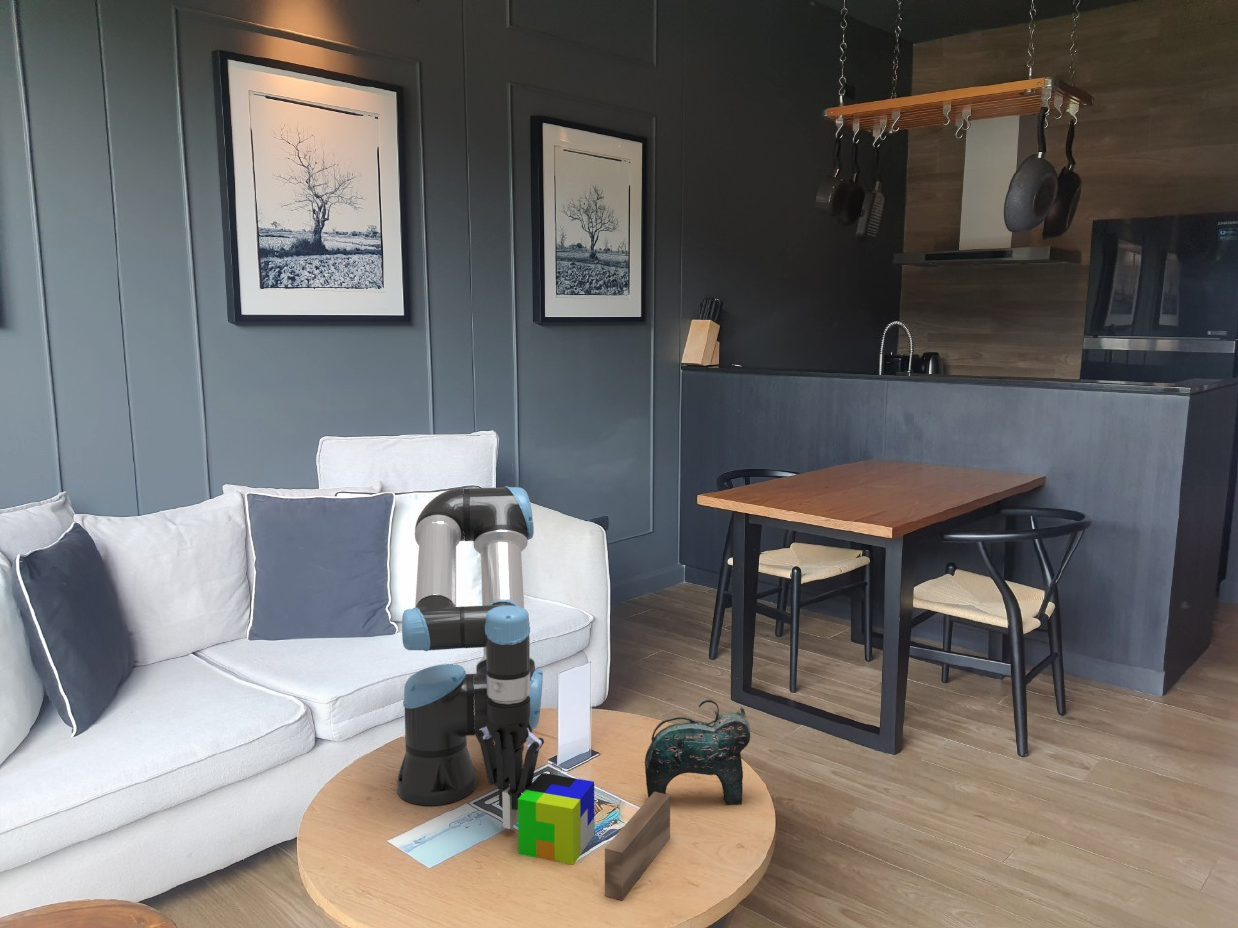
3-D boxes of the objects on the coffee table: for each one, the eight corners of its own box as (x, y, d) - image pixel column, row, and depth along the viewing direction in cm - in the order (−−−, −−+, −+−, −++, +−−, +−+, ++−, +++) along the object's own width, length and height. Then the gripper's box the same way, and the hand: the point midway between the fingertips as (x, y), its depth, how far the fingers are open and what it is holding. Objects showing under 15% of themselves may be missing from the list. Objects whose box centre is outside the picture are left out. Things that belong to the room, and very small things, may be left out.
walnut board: (604, 895, 145) (604, 848, 143) (654, 834, 163) (654, 791, 161) (622, 900, 143) (622, 852, 142) (669, 837, 161) (670, 794, 160)
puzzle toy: (594, 834, 162) (594, 781, 161) (573, 865, 153) (572, 808, 152) (542, 824, 166) (541, 772, 164) (518, 854, 156) (517, 798, 155)
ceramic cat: (746, 792, 177) (748, 693, 175) (752, 810, 171) (755, 707, 168) (643, 794, 177) (644, 694, 174) (646, 811, 170) (646, 708, 168)
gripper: (464, 697, 159) (467, 826, 162) (529, 710, 154) (531, 843, 157) (489, 683, 166) (491, 806, 169) (552, 695, 160) (553, 822, 163)
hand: (510, 824), depth 163 cm, fingers closed
